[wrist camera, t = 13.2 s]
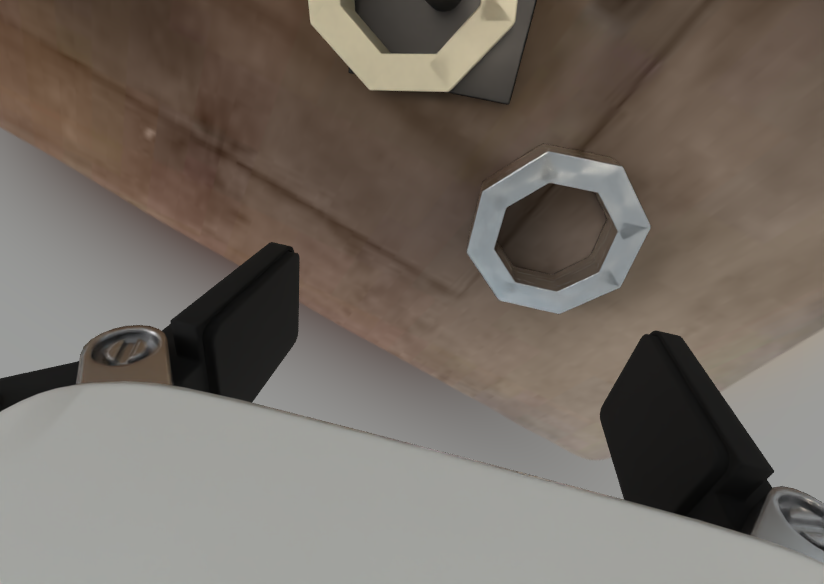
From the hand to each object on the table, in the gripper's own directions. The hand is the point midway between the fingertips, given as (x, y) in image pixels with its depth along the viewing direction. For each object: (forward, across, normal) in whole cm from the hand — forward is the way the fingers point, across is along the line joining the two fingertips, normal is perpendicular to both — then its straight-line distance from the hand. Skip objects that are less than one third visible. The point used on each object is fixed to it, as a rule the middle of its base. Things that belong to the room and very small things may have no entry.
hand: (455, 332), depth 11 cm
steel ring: (+16, -5, +2) cm, 17 cm away
